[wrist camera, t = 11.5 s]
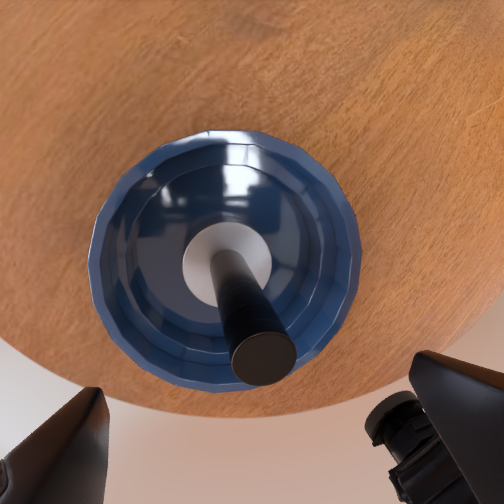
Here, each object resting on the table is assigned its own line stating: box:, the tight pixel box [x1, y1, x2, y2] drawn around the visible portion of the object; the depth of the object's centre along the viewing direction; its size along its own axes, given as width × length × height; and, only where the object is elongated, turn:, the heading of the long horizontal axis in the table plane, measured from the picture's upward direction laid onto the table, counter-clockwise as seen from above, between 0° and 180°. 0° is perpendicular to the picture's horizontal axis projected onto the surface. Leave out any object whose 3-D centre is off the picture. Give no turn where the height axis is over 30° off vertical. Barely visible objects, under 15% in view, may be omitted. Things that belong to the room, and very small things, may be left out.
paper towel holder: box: [182, 216, 297, 386], centre depth 14 cm, size 5×5×11 cm
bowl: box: [87, 130, 362, 393], centre depth 18 cm, size 14×14×4 cm
